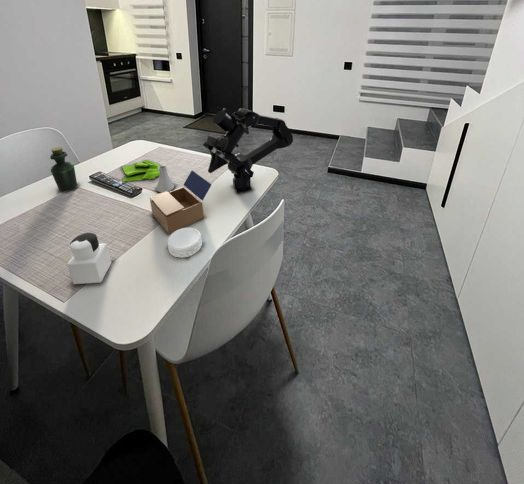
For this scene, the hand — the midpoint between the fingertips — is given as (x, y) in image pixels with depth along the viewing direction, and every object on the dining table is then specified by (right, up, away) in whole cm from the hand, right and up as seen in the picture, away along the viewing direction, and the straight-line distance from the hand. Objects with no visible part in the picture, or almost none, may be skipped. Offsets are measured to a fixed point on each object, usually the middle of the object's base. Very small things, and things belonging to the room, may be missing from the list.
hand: (209, 172), depth 106 cm
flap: (-4, -4, -2) cm, 6 cm away
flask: (-21, -8, +14) cm, 26 cm away
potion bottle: (-62, -8, +15) cm, 64 cm away
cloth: (-37, -2, +29) cm, 47 cm away
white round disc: (-4, -21, -18) cm, 28 cm away
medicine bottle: (-27, -25, -27) cm, 46 cm away
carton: (-11, -15, -4) cm, 19 cm away
